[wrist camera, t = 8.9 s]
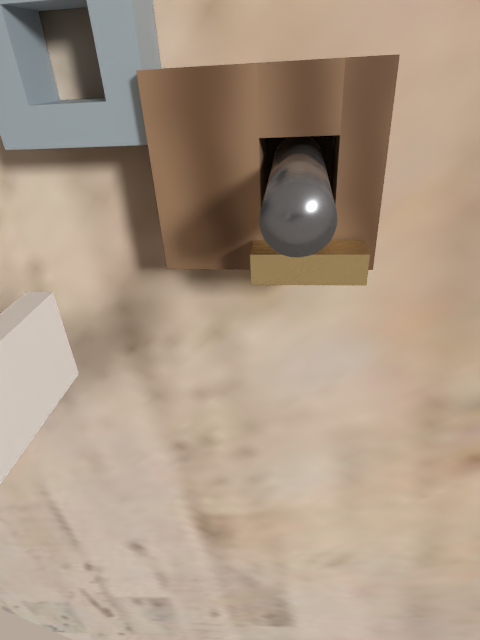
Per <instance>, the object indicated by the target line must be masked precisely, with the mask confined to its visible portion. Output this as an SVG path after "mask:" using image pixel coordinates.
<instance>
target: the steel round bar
mask: <svg viewBox="0 0 480 640" xmlns="http://www.w3.org/2000/svg"><path fill="white" fill-rule="evenodd" d="M259 224H260V230H261V233H262V236H263V238H264V240H265V241H266V243H267V244H268V245H269V246H270V247H271V248H272V249H273V250H275V251H276V252H278V253H280V254H282V255H285V256H288V257H306V256H309V255H312V254H315V253H317V252H318V251H320V250H321V249H323V248H324V247H325V246H326V245H327V244H328V243H329V241H330V240H331V239H332V237H333V235H334V233H335V230H336V227H337V210H336V206H335V202H334V198H333V194H332V190H331V186H330V182H329V178H328V174H327V170H326V166H325V162H324V158H323V154H322V151H321V148H320V146H319V145H318V143H317V142H316V141H315V140H314V139H312V138H310V137H308V136H302V137H289V138H287V139H285V140H284V141H283V142H282V143H281V144H280V145H279V147H278V148H277V150H276V153H275V156H274V160H273V164H272V168H271V172H270V176H269V180H268V184H267V188H266V192H265V196H264V200H263V204H262V208H261V212H260V217H259Z"/></svg>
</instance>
